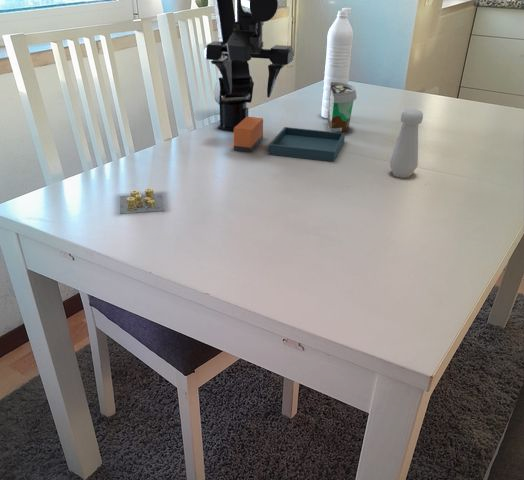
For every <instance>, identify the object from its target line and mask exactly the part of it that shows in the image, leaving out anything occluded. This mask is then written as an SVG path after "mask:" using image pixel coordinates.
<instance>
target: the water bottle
mask: <svg viewBox="0 0 524 480" xmlns="http://www.w3.org/2000/svg"><path fill="white" fill-rule="evenodd" d="M348 14H352V7H342V8H341V10H338V11H337V14H336V18H335V20H334V21H333V22H332V23H331V26H330V27H329V29H328V31H327V41H326V55H325V67H324V78H323V91H322V101H321V105H322V106H321V117H322V118H323V119H326V120H328V112H329V99H330V85H331V82H337V83H344V84H349V80H350V72H351V71H350V70H351V62H352V61H351V60H352V59H351V58H352V51H353V43H354V42H353V41H354V29H353V27H352V26H351V23H350V21H349V19H348V16H349V15H348Z"/></svg>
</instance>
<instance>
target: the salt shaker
mask: <svg viewBox="0 0 524 480" xmlns="http://www.w3.org/2000/svg"><path fill="white" fill-rule="evenodd" d="M423 119H424V113H423V112H422V110H420V109H417V108H406V109H404V110H403V111H402V112H401V114H400V122H401V123H402V125H401V127H400V131H399V134H398V136H397V140H396V142H395V146H394V148H393V151H392V153H391V154H392V155H391V157H390V161H389V166H390V169H391V174H392V175H393V177H397V178H402V179H403V178H405V179H406V178H411V176H412V175H413V174H414V172H415V171H416V169H418V167H419V166H418V165H419V125H420V124H422V122H423Z"/></svg>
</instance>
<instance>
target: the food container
mask: <svg viewBox="0 0 524 480" xmlns="http://www.w3.org/2000/svg"><path fill="white" fill-rule="evenodd" d="M357 98H358V97H357V91H356V86H354V85H352V84H349V83H348V84H344V83H337V82H331V85H330V99H329V112H328V119H327V127H328V131H329V132H338V133H345V134H347V133H348V131H349V128H350V122H351V117H352V111H353V106H354V102H355V100H357Z"/></svg>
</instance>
